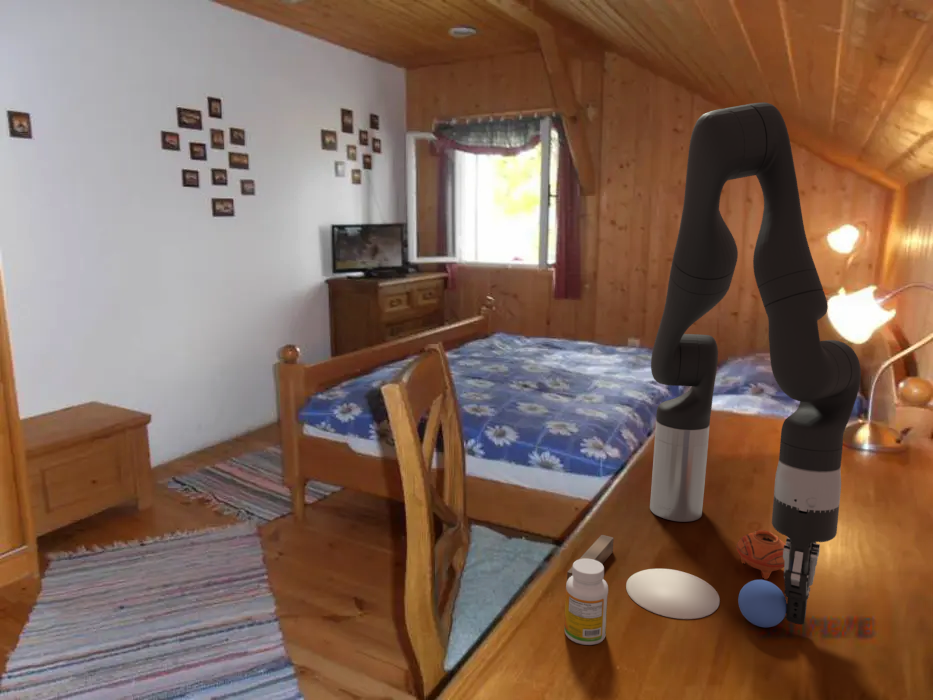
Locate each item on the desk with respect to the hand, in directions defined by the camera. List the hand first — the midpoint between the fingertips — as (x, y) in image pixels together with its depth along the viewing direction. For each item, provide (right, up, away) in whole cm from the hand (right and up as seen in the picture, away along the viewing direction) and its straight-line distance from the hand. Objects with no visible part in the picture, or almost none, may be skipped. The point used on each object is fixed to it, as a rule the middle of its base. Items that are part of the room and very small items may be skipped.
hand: (795, 620), depth 90 cm
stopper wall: (-24, +2, +15) cm, 29 cm away
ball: (-4, +2, +1) cm, 4 cm away
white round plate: (-14, 0, +9) cm, 16 cm away
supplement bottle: (-28, -2, -1) cm, 28 cm away
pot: (+2, +1, +16) cm, 16 cm away
